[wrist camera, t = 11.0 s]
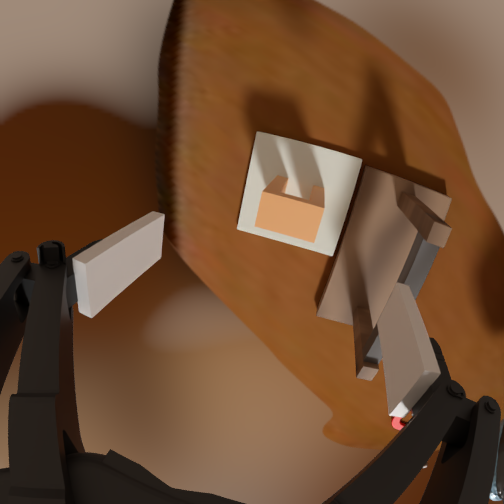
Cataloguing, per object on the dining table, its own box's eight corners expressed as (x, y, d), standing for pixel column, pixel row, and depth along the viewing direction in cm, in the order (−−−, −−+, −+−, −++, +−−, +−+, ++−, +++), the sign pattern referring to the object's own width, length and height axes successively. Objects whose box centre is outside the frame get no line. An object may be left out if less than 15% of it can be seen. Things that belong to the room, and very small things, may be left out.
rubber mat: (361, 158, 28) (362, 159, 28) (332, 254, 33) (332, 256, 33) (258, 131, 30) (256, 131, 29) (238, 227, 34) (236, 229, 34)
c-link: (324, 188, 30) (324, 208, 23) (316, 215, 31) (314, 243, 24) (277, 175, 30) (262, 191, 23) (271, 202, 32) (254, 226, 25)
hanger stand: (446, 195, 27) (496, 230, 17) (388, 327, 35) (401, 395, 25) (365, 165, 28) (387, 186, 18) (316, 308, 36) (310, 376, 26)
